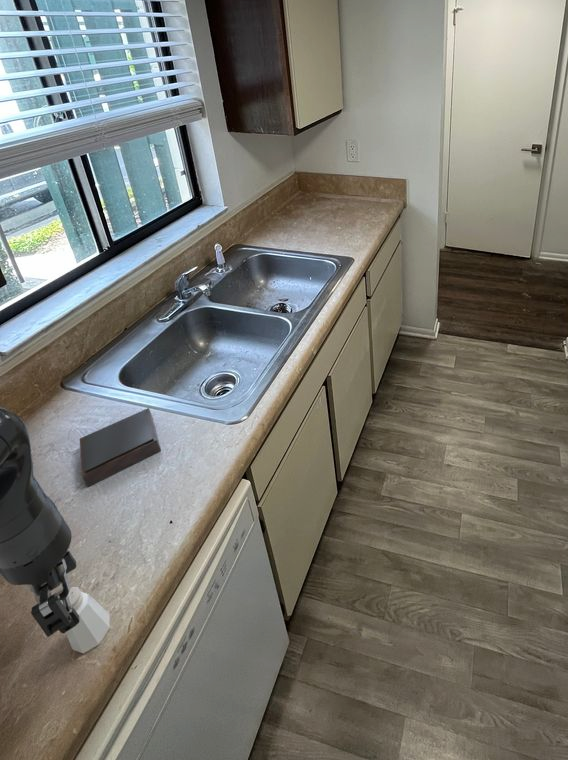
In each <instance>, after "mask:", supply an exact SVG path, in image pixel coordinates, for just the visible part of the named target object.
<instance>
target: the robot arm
mask: <svg viewBox="0 0 568 760" xmlns="http://www.w3.org/2000/svg"><path fill="white" fill-rule="evenodd" d="M72 536H73V535H72V529H70V527H69V525H68V524H67V521H66V520H65V518H64V517H63V515H62V514H61V512H60V510H59V509H58V507H57V506H56V504H55V503H54V501H53V500H52V499H51V498H50V497H49V496H48V495H47V494H46V493H45V491H44V490H43V488H42V487H41V484H39V481H38V480H37V479H36V477H35V474H34V462H33V454H32V445H31V438H30V433H29V431H28V428H27V426H26V424H25V422H24V420H23V419H22V418H21V417H20V416H19V415H18V414H16V413H15V412H13V411H12V410H10V409H8V408H5V407H1V406H0V575H1V576H2V578H3V579H4V580H5V581H6V582H7V583H9V584H10V585H13V586H25V585H26V586H28V588H29V591H30V592H31V593H33V595H34V599H35V602H36V604H35V605H34V606H33V605H32V607H31V611H30V614H31V616H32V617H33V618H34V620H35V622H36V623H37V624H38V626H39V627H40V628H41V630H42V632H44V634H45V635H46V637H47V638H49V637H51V636H53V635H54V634H55V633H57V632H60V633H61V634H66V632H67V631H69V630H70V629H72V628H73V627H75V626H76V625H77V624H78V623H79V615H78V614H77V612H76V611H75V609H74V608H73V607H72V605H71V603H70V600H69V597H68V594H69V592H70V589H71V584H70V581H69V577H68V575H67V574H69V573H71V572H72V571H74V570H75V569H76V568H77V561H76V559H75V557H73V554H72V553H71V551H70V548H71V547H70V545H71V542H72ZM60 586H62V589H61V590H58V592H55V593H53V594H52V591H53V590H55V589H57V588H58V587H60ZM60 600H62V602H63V604H62V602H61V601H60Z"/></svg>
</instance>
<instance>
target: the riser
mask: <svg viewBox="0 0 568 760" xmlns="http://www.w3.org/2000/svg"><path fill="white" fill-rule="evenodd" d="M161 448H162V447H161V444H160V440H159V437H158V433H157V428H156V425H155V421H154V418H153V415H152V412H151V409H150V407H148V408H145V409H142V410H140V411H138V412H136V413H134V414H132V415H129V416H127V417H125V418H123V419H121V420H118V421H116V422H114V423H112V424H109V425H107V426H105V427H102V428H100V429H97V430H96V431H94V432H91V433H89V434H87V435H84V436H82V437H79V450H80V453H79V454H80V463H81V477H82V480H83V481H84V483H85V485H86V487H87V488H89V487H92V486H94V485H95V484H97V483H99V482H102V481H103V480H105V479H107V478H109V477H112V476H113V475H115V474H117V473H120V472H122V471H124V470H125V469H127V468H129V467H132V466H134V465H135V464H138V463H140V462H142V461H145V460H147V459H148V458H151V457H152V456H154V455H156V454H158V453H160V452H161V451H162V449H161Z"/></svg>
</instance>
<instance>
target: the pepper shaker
mask: <svg viewBox="0 0 568 760" xmlns="http://www.w3.org/2000/svg"><path fill="white" fill-rule="evenodd" d="M70 587H71V586H70ZM68 597H69V600H70V603H71V605H72V607H73V608H74V609H75V611H76V612H77V614H78V615H79V623H78V624H77V625H76V626H75V627H73V628H72V629H70V630H69V631H67V632H66V633H65V634H66V637H67V640H68V642H69V644H70V648H71V649H72V651H74V652H78V653H80V654H86V653H87V652H89V651H91V650H92V649H94V648H95V647H97V646H99V645H100V644H101V642H102V641H103V639H104V638H105V637H106V635H107V633H108V632H109V630H110V629H111V614H110V613H109V612H108V611H107V610H106V609H105V608H104V607H103V606H102V605H101V604H100V603H98V602H97V601H96V600H95V599H94V598H93V597H92V596H91V595H90V594H89V593H87V592H83V591H81V589H80V587H78V586H72V587H71V589H70V592H69V594H68ZM60 601H61V602H62V600H60ZM62 604H63V602H62Z"/></svg>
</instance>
